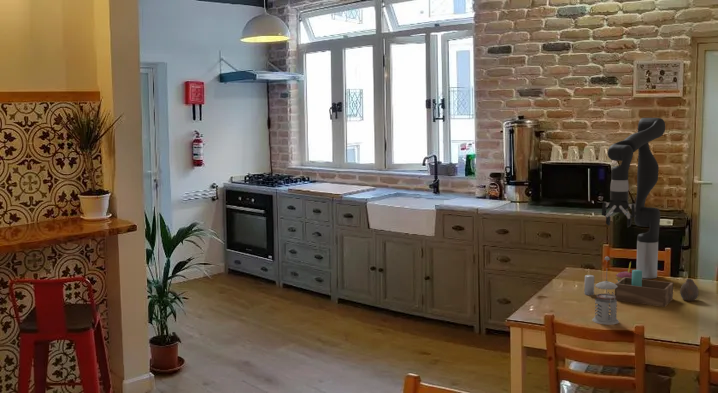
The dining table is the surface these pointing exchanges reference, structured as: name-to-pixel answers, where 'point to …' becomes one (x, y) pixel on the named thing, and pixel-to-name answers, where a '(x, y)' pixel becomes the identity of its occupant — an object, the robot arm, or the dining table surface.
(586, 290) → the grey peg
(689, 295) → the vase
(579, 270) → the dining table surface
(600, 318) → the french press
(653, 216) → the robot arm
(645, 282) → the peg box
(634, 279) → the teal peg
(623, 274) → the cupcake
